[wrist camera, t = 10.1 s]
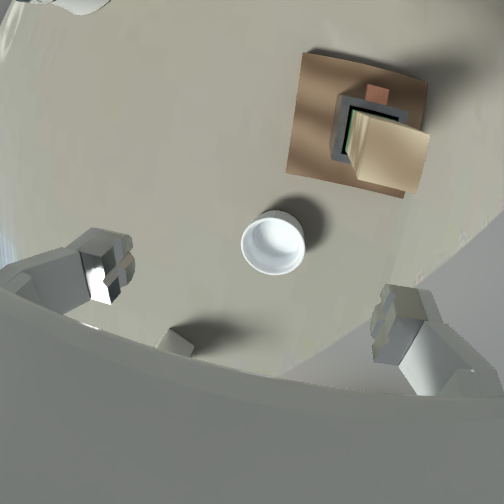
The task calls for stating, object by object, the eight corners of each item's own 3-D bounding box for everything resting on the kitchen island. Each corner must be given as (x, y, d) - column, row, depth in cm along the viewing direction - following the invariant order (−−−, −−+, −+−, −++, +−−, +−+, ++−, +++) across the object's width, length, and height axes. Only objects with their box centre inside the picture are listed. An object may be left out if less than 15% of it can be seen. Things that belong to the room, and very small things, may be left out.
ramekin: (314, 253, 47) (312, 268, 43) (259, 265, 50) (253, 280, 46) (296, 199, 43) (294, 210, 40) (239, 215, 46) (231, 226, 43)
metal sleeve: (338, 83, 33) (344, 78, 24) (389, 95, 32) (411, 96, 23) (328, 144, 37) (331, 160, 28) (377, 155, 36) (394, 174, 27)
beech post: (349, 108, 29) (370, 117, 16) (386, 117, 29) (431, 134, 16) (342, 144, 31) (357, 179, 18) (378, 152, 31) (416, 194, 18)
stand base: (303, 54, 34) (302, 52, 32) (423, 83, 32) (428, 82, 30) (287, 169, 42) (285, 173, 40) (399, 194, 40) (403, 198, 38)
